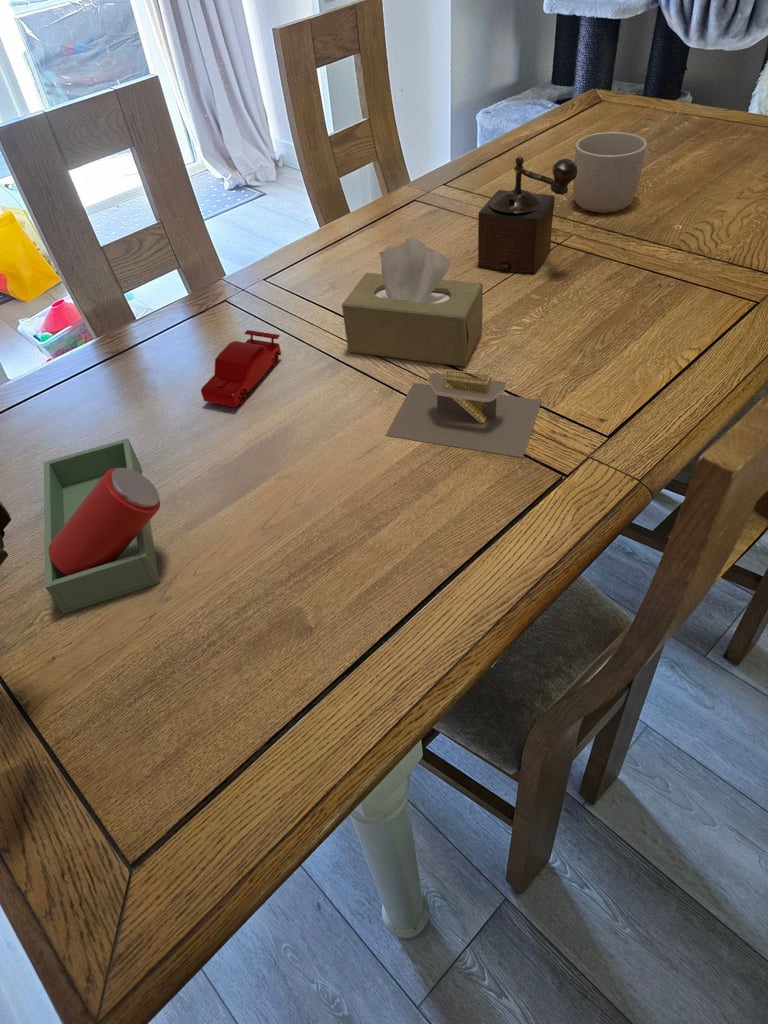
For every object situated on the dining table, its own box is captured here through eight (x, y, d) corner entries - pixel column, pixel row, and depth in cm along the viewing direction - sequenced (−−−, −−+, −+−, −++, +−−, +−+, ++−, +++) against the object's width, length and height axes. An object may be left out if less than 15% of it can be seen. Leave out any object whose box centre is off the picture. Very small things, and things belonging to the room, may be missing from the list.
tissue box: (484, 332, 106) (485, 229, 94) (467, 368, 99) (466, 262, 88) (369, 319, 111) (357, 220, 100) (346, 352, 105) (331, 251, 94)
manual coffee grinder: (474, 269, 120) (474, 158, 107) (495, 241, 126) (498, 134, 114) (563, 281, 114) (575, 166, 101) (580, 251, 121) (593, 139, 108)
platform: (523, 457, 85) (526, 414, 80) (385, 435, 90) (380, 394, 86) (541, 400, 93) (545, 358, 88) (413, 382, 98) (411, 342, 93)
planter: (648, 211, 130) (659, 148, 122) (585, 222, 128) (593, 160, 121) (618, 187, 138) (627, 127, 130) (559, 198, 137) (565, 138, 129)
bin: (63, 614, 74) (45, 587, 71) (59, 488, 89) (43, 461, 85) (160, 583, 76) (146, 555, 73) (140, 465, 91) (128, 437, 87)
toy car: (253, 352, 107) (246, 324, 104) (285, 358, 105) (278, 329, 102) (204, 406, 99) (194, 377, 95) (237, 412, 97) (229, 383, 93)
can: (79, 590, 72) (141, 515, 69) (35, 547, 72) (95, 469, 69) (115, 571, 78) (174, 501, 75) (74, 531, 78) (131, 459, 75)
